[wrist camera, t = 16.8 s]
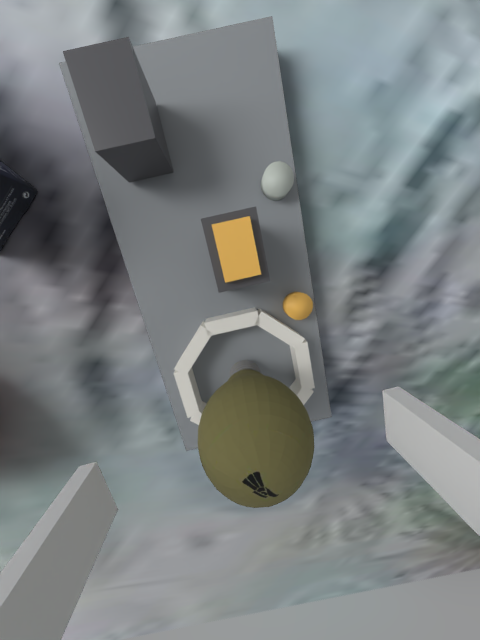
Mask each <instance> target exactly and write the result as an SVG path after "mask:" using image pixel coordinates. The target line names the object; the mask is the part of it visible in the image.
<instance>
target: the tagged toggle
mask: <svg viewBox="0 0 480 640" xmlns="http://www.w3.org/2000/svg"><path fill="white" fill-rule="evenodd" d="M201 222H202V226H203V230H204V235H205V239H206V243H207V247H208V251H209V255H210V259H211V263H212V267H213V272H214V276H215V280H216V284H217V288H218V292H219V293H221V292H225V291H230V290H234V289H238V288H243V287H247V286H251V285H256V284H260V283H264V282H269V281H270V277H269V272H268V267H267V261H266V256H265V251H264V246H263V240H262V235H261V230H260V224H259V219H258V214H257V209H256V206H255V207H251V208H246V209H242V210H237V211H233V212H228V213H224V214H220V215H215V216H211V217H206V218H202V219H201Z"/></svg>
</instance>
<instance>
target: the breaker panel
mask: <svg viewBox="0 0 480 640" xmlns="http://www.w3.org/2000/svg"><path fill="white" fill-rule="evenodd" d="M133 49H134V51H135V54H136V56H137V58H138V61H139V63H140V65H141V68H142V70H143V73H144V75H145V77H146V80H147V82H148V85H149V87H150V89H151V92H152V94H153V97H154V99H155V101H156V105H157V109H158V113H159V117H160V121H161V125H162V129H163V133H164V136H165V140H166V144H167V148H168V152H169V156H170V160H171V164H172V167H173V171H174V172H173V173H169V174H164V175H160V176H155V177H151V178H147V179H142V180H138V181H133V182H128V181H127V180H126V179H125V178H124V177H122V176H121V175H120V174H119V173H118V172H117V171H116V170H115V169H114V168H113V167H112V166H110V165H109V164H108V163H107V162H106V161H105V160H104V159H103V158H102V157H101V156H100V155H98V154H97V153H96V152H95V150H94V146H93V143H92V140H91V137H90V134H89V131H88V128H87V125H86V122H85V119H84V115H83V112H82V109H81V106H80V103H79V100H78V97H77V94H76V91H75V87H74V84H73V81H72V78H71V75H70V72H69V69H68V66H67V63H66V61H65V62H60V63H59V65H60V68H61V71H62V74H63V77H64V80H65V83H66V86H67V89H68V92H69V95H70V98H71V101H72V104H73V107H74V110H75V114H76V117H77V120H78V123H79V126H80V129H81V132H82V135H83V138H84V141H85V144H86V147H87V150H88V153H89V156H90V159H91V162H92V165H93V168H94V171H95V174H96V177H97V180H98V184H99V187H100V190H101V193H102V196H103V199H104V202H105V205H106V208H107V211H108V214H109V217H110V220H111V223H112V226H113V229H114V232H115V235H116V238H117V241H118V244H119V247H120V251H121V254H122V257H123V260H124V263H125V266H126V269H127V272H128V275H129V278H130V281H131V284H132V287H133V290H134V293H135V296H136V299H137V302H138V305H139V308H140V311H141V314H142V317H143V321H144V324H145V327H146V330H147V333H148V336H149V339H150V342H151V345H152V348H153V351H154V354H155V357H156V360H157V363H158V366H159V369H160V372H161V375H162V378H163V381H164V384H165V387H166V391H167V394H168V397H169V400H170V403H171V406H172V409H173V412H174V415H175V418H176V421H177V424H178V427H179V430H180V433H181V436H182V439H183V442H184V445H185V448H186V451H189V450H193V449H197V448H198V427H199V423H200V419H201V415H202V412H203V410H204V408H205V406H206V404H207V402H208V401H209V399H210V397H211V396H212V395H213V394H214V392H215V391H216V390H217V389H218V388H219V387H221V386H222V385H223V384H224V383H225V382H227V381H228V379H229V378H230V370H231V368H232V366H233V365H234V364H235V363H237V362H238V361H241V360H250V361H253V362H254V363H256V364H257V365H258V367H259V368H260V371H261V374H263V375H265V376H269V377H271V378H274V379H276V380H278V381H280V382H282V383H283V384H284V385H286V386H287V387H288V388H290V389H291V390H292V391H293V392H294V393H295V394H296V395H297V396H298V398H299V399H300V400H301V402H302V403H303V405H304V407H305V409H306V410H307V412H308V415H309V418H310V421H311V422H312V421H316V420H321V419H325V418H329V417H332V416H331V410H330V403H329V396H328V389H327V383H326V376H325V369H324V362H323V356H322V349H321V342H320V335H319V329H318V322H317V315H316V308H315V302H314V295H313V288H312V282H311V275H310V268H309V261H308V255H307V248H306V241H305V234H304V228H303V221H302V214H301V207H300V201H299V194H298V187H297V180H296V174H295V167H294V160H293V153H292V147H291V140H290V133H289V126H288V120H287V113H286V106H285V99H284V93H283V86H282V79H281V72H280V66H279V59H278V52H277V46H276V39H275V32H274V25H273V19H272V16H271V17H266V18H262V19H257V20H253V21H248V22H244V23H239V24H234V25H230V26H225V27H221V28H216V29H211V30H207V31H202V32H198V33H193V34H189V35H184V36H179V37H175V38H170V39H166V40H161V41H157V42H152V43H147V44H143V45H138V46H134V47H133ZM255 206H256V209H257V214H258V219H259V224H260V230H261V235H262V240H263V246H264V251H265V256H266V261H267V267H268V272H269V277H270V281H269V282H264V283H260V284H256V285H251V286H247V287H243V288H238V289H234V290H230V291H225V292H221V293H219V292H218V288H217V284H216V280H215V276H214V272H213V267H212V263H211V259H210V255H209V251H208V247H207V243H206V239H205V235H204V230H203V226H202V222H201V219H202V218H206V217H211V216H215V215H220V214H224V213H228V212H233V211H237V210H242V209H246V208H251V207H255Z"/></svg>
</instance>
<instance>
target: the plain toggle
mask: <svg viewBox="0 0 480 640" xmlns="http://www.w3.org/2000/svg"><path fill="white" fill-rule="evenodd" d="M63 53H64V56H65V60H66V63H67V66H68V69H69V72H70V75H71V78H72V81H73V84H74V87H75V91H76V94H77V97H78V100H79V103H80V106H81V109H82V112H83V115H84V119H85V122H86V125H87V128H88V131H89V134H90V137H91V140H92V143H93V146H94V150H95V152H96V153H97V154H98V155H100V156H101V157H102V158H103V159H104V160H105V161H106V162H107V163H108V164H109V165H110V166H112V167H113V168H114V169H115V170H116V171H117V172H118V173H119V174H120V175H121V176H122V177H124V178H125V179H126V180H127V181H128V182H133V181H138V180H142V179H147V178H151V177H155V176H160V175H164V174H169V173H173V172H174V171H173V167H172V164H171V160H170V156H169V152H168V148H167V144H166V140H165V136H164V133H163V129H162V125H161V121H160V117H159V113H158V109H157V105H156V101H155V99H154V97H153V94H152V92H151V89H150V87H149V85H148V82H147V80H146V77H145V75H144V73H143V70H142V68H141V65H140V63H139V61H138V58H137V56H136V54H135V51H134V49H133V46H132V44H131V42H130V39H129V37H126V38H122V39H117V40H112V41H108V42H103V43H99V44H94V45H90V46H85V47H80V48H76V49H71V50H67V51H63Z"/></svg>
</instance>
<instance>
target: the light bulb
mask: <svg viewBox="0 0 480 640" xmlns="http://www.w3.org/2000/svg"><path fill="white" fill-rule="evenodd" d="M198 450H199V455H200V460H201V463H202V466H203V468H204V470H205V472H206V475H207V476H208V478H209V479H210V481H211V482H212V484H213V485H214V486H215V487H216V489H217V490H218V491H219V492H221V493H222V494H223V495H224V496H226V497H227V498H228V499H230V500H231V501H233V502H235V503H237V504H240V505H243V506H246V507H253V508H259V507H270V506H273V505H275V504H278V503H280V502H282V501H284V500H286V499H287V498H289V497H290V496H291V495H293V494H294V493H295V492H296V491H297V490H298V488H299V487H300V486H301V484H302V483H303V481H304V479H305V478H306V476H307V475H308V472H309V469H310V467H311V463H312V459H313V453H314V434H313V428H312V424H311V421H310V418H309V415H308V412H307V410H306V409H305V407H304V405H303V403H302V402H301V400H300V399H299V398H298V396H297V395H296V394H295V393H294V392H293V391H292V390H291V389H290V388H288V387H287V386H286V385H284V384H283V383H282V382H280V381H278V380H276V379H274V378H271V377H269V376H265V375H263V374H261V371H260V368H259V367H258V365H257V364H256V363H254V362H253V361H250V360H241V361H238V362H237V363H235V364H234V365H233V366H232V368H231V370H230V378H229V379H228V381H227V382H225V383H224V384H223V385H222V386H221V387H219V388H218V389H217V390H216V391H215V392H214V394H213V395H212V396H211V397H210V399H209V401H208V402H207V404H206V406H205V408H204V410H203V412H202V415H201V419H200V423H199V427H198Z"/></svg>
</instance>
